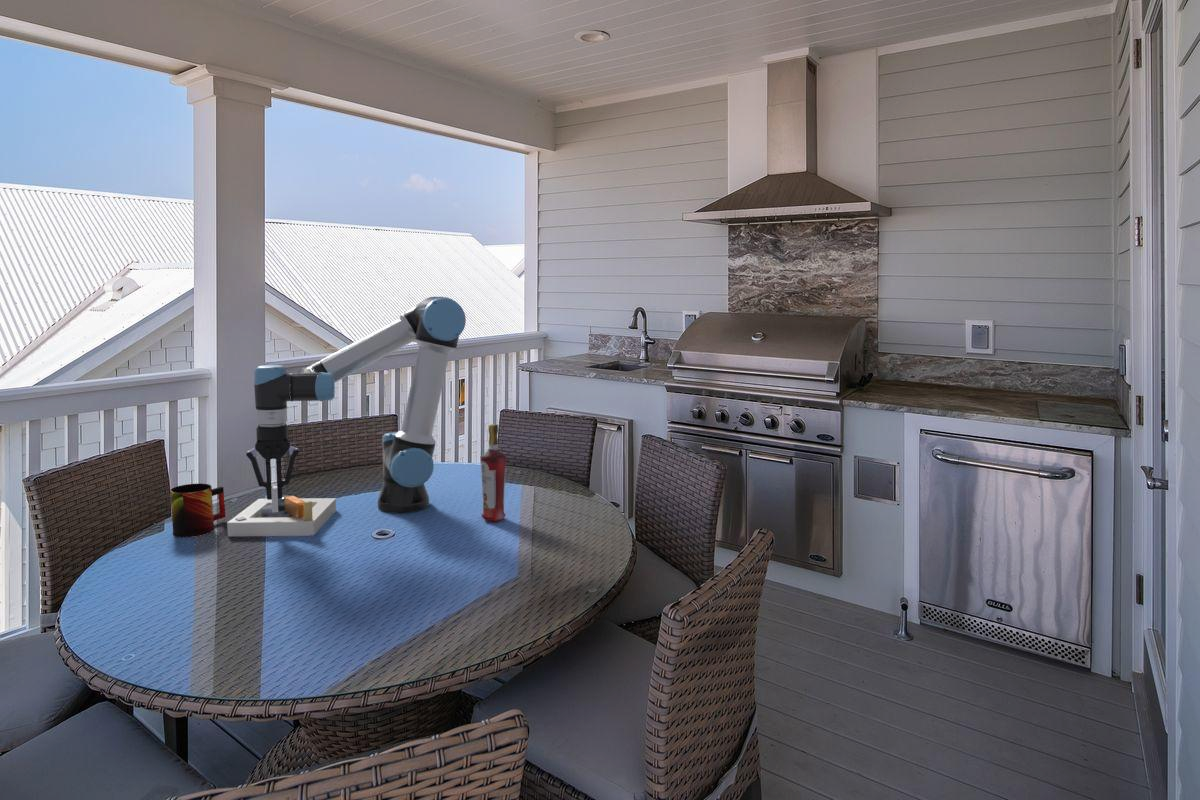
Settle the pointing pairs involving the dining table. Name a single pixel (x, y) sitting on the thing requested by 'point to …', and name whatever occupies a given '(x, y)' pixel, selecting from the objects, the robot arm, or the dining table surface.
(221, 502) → the mug
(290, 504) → the dial
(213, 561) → the dining table surface
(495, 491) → the liquor
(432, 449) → the robot arm
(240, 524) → the housing
